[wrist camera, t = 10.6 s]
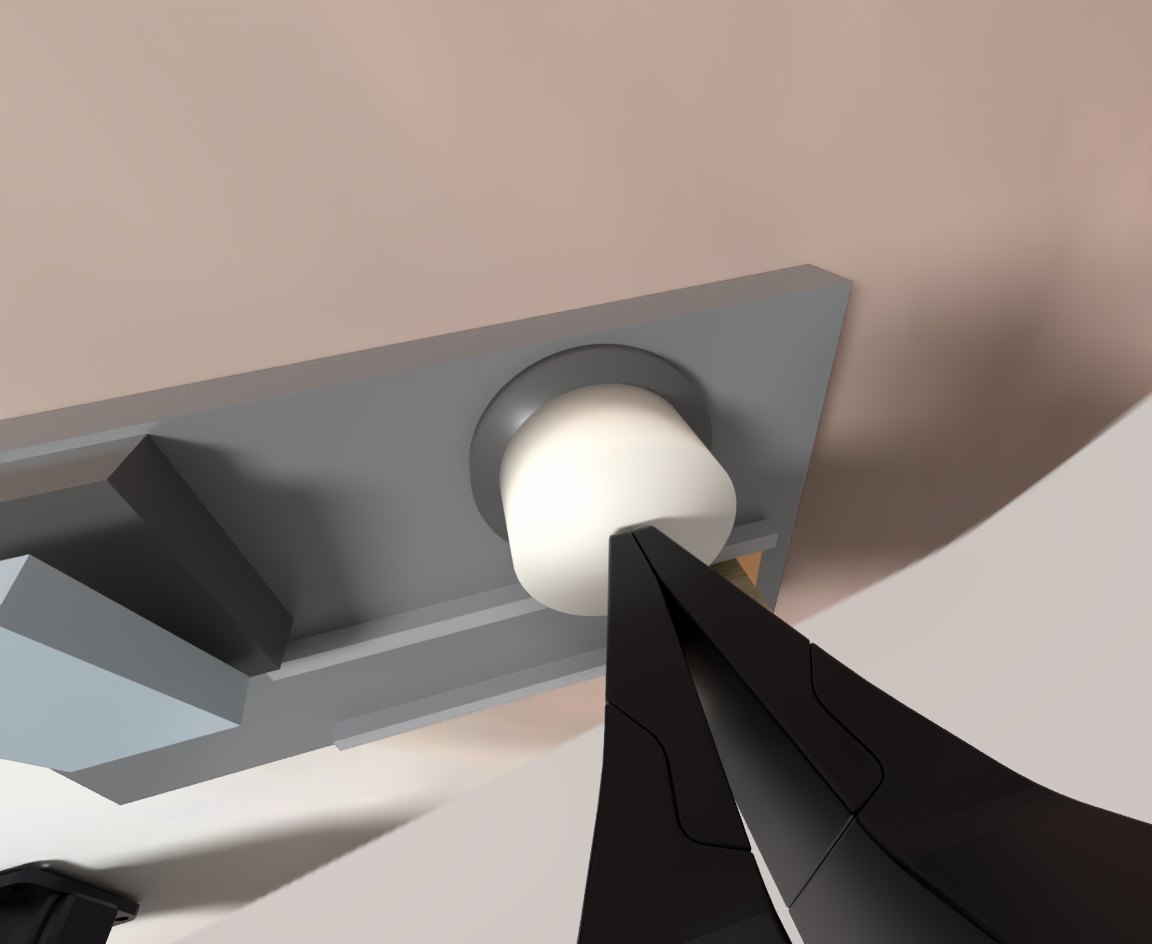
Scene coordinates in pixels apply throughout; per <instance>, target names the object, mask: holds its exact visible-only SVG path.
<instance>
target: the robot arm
mask: <svg viewBox="0 0 1152 944" xmlns="http://www.w3.org/2000/svg"><path fill="white" fill-rule="evenodd" d="M605 701H606V705H605V729H604V730H605V731H604V747H603V766H602V774H601V783H600V790H599V799H598V807H597V814H596V820H595V827H594V835H593V841H592V847H591V854H590V861H589V867H588V874H587V881H586V888H585V894H584V901H583V907H582V914H581V920H580V927H579V934H578V939H577V944H792V942H791V940H790V938H789V936H788V934H787V932H786V931H785V929H784V927H783V924H782V922H781V920H780V918H779V916H778V914H777V912H776V910H775V908H774V906H773V904H772V901H771V898H770V896H769V894H768V892H767V889H766V886H765V884H764V882H763V879H762V876H761V874H760V871H759V868H758V865H757V863H756V860H755V857H754V855H753V853H751V846H750V842H749V839H748V837H747V834H746V831H745V828H744V825H743V822H742V819H741V816H740V814H739V811H738V808H737V805H738V807H739V809H740V811H741V813H742V816H743V817H744V819H745V822H746V824H747V826H748V828H749V830H750V832H751V834H752V836H753V838H754V840H755V842H756V844H757V847H758V849H759V851H760V853H761V855H762V856H763V859H764V861H765V863H766V865H767V867H768V869H769V871H770V873H771V875H772V877H773V880H774V882H775V884H776V886H777V888H778V890H779V892H780V894H781V896H782V898H783V900H784V902H785V904H786V906H787V907H788V908H789V913H790V915H791V917H792V919H793V921H794V923H795V926H796V928H797V930H798V932H799V934H800V935H801V937H802V940H803V942H804V944H1152V824H1149V823H1146V822H1143V821H1139V820H1136V819H1133V818H1130V817H1127V816H1123V815H1121V814H1117V813H1114V812H1111V811H1108V810H1105V809H1102V808H1098V807H1095V806H1092V805H1089V804H1086V803H1083V802H1080V801H1077V800H1075V799H1072V798H1070V797H1067V796H1065V795H1062V794H1059V793H1057V792H1055V791H1053V790H1051V789H1048V788H1046V787H1044V786H1041V785H1039V784H1037V783H1035V782H1033V781H1031V780H1030V779H1028V778H1026V777H1024V776H1022V775H1020V774H1018V773H1016V772H1014V771H1013V770H1011V769H1009V768H1008V767H1006V766H1004V765H1002V764H1001V763H999V762H997V761H996V760H994V759H993V758H991V757H989V756H987V755H986V754H984V753H983V752H981V751H979V750H978V749H976V748H975V747H973V746H971V745H970V744H968V743H966V742H965V741H963V740H961V739H960V738H958V737H957V736H955V735H953V734H952V733H950V732H948V731H947V730H945V729H943V728H942V727H940V726H938V725H937V724H935V723H933V722H932V721H930V720H929V719H927V718H925V717H924V716H922V715H920V714H919V713H917V712H916V711H914V710H912V709H911V708H909V707H907V706H906V705H904V704H903V703H901V702H899V701H898V700H896V699H895V698H893V697H892V696H890V695H888V694H887V693H885V692H884V691H882V690H881V689H879V688H877V687H876V686H874V685H873V684H871V683H870V682H868V681H866V680H865V679H864V678H862V677H861V676H859V675H858V674H857V673H855V672H854V671H852V670H851V669H849V668H848V667H846V666H845V665H844V664H842V663H841V662H839V661H838V660H836V659H835V658H834V657H832V656H831V655H829V654H828V653H827V652H825V651H824V650H823V649H821V648H820V647H819V646H817V645H816V644H814V643H811V644H810V641H809V639H807V638H806V637H805V636H803V635H802V634H801V633H799V632H798V631H797V630H795V629H794V628H792V627H791V626H790V625H788V624H787V623H786V622H784V621H783V620H781V619H780V618H779V617H777V616H776V615H775V614H773V613H772V612H771V611H769V610H768V609H766V608H765V607H764V606H762V605H761V604H760V603H758V602H757V601H756V600H754V599H753V598H751V597H750V596H749V595H747V594H746V593H745V592H743V591H742V590H740V589H739V588H738V587H736V586H735V585H734V584H732V583H731V582H730V581H728V580H727V579H725V578H724V577H723V576H721V575H720V574H719V573H717V572H716V571H715V570H713V569H712V568H710V567H709V566H708V565H706V564H705V563H704V562H702V561H701V560H699V559H698V558H697V557H695V556H694V555H693V554H691V553H690V552H689V551H687V550H686V549H684V548H683V547H682V546H680V545H679V544H678V543H676V542H675V541H673V540H672V539H671V538H669V537H668V536H667V535H665V534H664V533H663V532H661V531H660V530H658V529H657V528H656V527H654V526H652V525H648V526H644V527H640V528H636V529H633V530H632V531H631V532H630V531H624V532H620V533H616V534H612V535H610V537H609V551H608V598H607V646H606V693H605ZM735 801H736V802H735ZM736 803H737V805H736ZM139 908H140V905H139V904H137V903H135V902H132V901H129V900H126V899H123V898H120V897H117V896H114V895H111V894H109V893H106V892H103V891H100V890H97V889H94V888H91V887H88V886H86V885H83V884H80V883H77V882H74V881H71V880H68V879H65V878H63V877H60V876H57V875H54V874H51V873H48V872H45V871H42V870H38V869H26V870H20V871H16V872H12V873H9V874H5V875H2V876H0V944H106V941H107V939H108V936H109V934H110V931H111V929H112V927H113V926H116V925H119V924H123V923H126V922H129V921H132V920H134V919H135V918H136V916H137V913H138V910H139Z"/></svg>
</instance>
